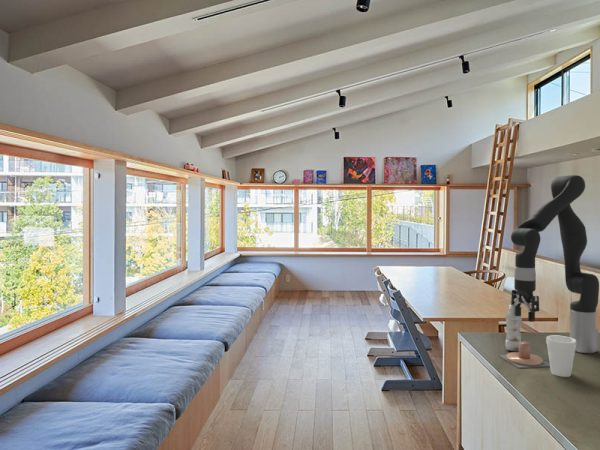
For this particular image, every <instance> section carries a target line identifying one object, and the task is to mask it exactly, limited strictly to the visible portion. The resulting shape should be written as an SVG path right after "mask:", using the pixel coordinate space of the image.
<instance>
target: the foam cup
mask: <svg viewBox="0 0 600 450" xmlns="http://www.w3.org/2000/svg"><path fill="white" fill-rule="evenodd" d="M545 343H546V347H547V353H548V359H549V360H548V363H549V364H550V366H549V369H550V373H551V374H552V375H554V376H557V377H561V378H562V377H563V378H567V377H568V378H569V377H571V376H572V373H573V372H572V370H573V365H574V359H575V354H576V351H575V348H576V340H575V339H573V338H570V336H565V335H558V334H555V335H554V334H552V335H551V334H550V335H547V336H546V340H545Z"/></svg>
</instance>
